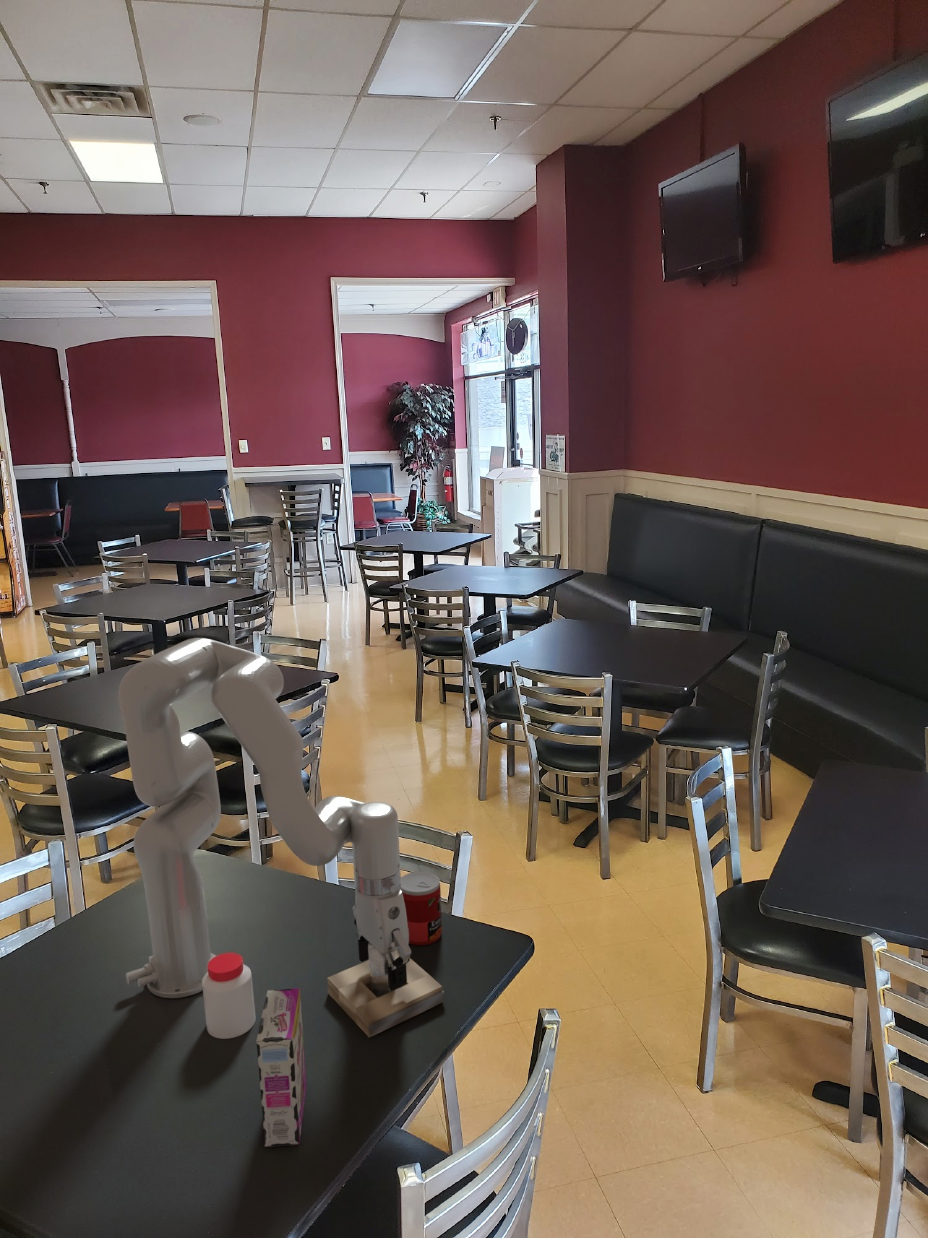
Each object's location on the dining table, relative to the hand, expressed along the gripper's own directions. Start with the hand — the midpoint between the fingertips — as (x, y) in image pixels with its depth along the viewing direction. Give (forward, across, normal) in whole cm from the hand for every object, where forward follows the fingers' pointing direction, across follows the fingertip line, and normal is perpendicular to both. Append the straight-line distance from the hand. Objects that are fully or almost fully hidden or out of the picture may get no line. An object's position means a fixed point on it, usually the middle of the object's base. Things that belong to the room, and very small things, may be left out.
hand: (382, 972), depth 147 cm
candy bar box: (+5, -14, +24) cm, 28 cm away
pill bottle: (+5, +10, +23) cm, 25 cm away
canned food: (+5, +12, -15) cm, 20 cm away
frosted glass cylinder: (+5, 0, 0) cm, 5 cm away
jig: (+5, 0, 0) cm, 5 cm away
